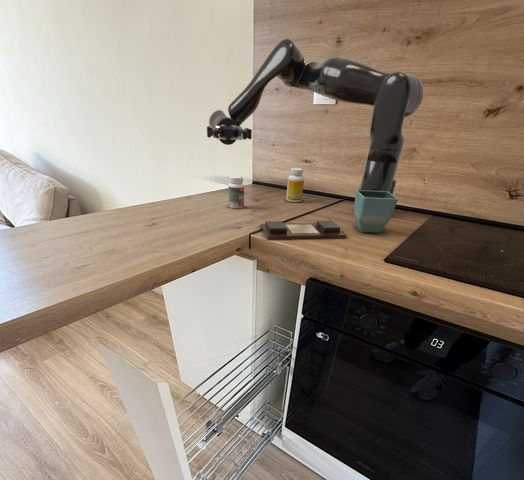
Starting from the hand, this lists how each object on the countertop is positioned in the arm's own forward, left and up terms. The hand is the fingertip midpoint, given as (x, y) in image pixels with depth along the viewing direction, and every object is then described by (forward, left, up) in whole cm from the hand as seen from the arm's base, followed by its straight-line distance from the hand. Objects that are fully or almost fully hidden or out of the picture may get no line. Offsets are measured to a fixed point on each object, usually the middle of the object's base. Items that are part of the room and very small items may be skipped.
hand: (231, 134), depth 93 cm
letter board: (-14, +36, -18) cm, 43 cm away
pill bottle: (0, +11, -18) cm, 21 cm away
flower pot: (-33, +35, -18) cm, 52 cm away
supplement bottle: (-21, +3, -18) cm, 28 cm away
